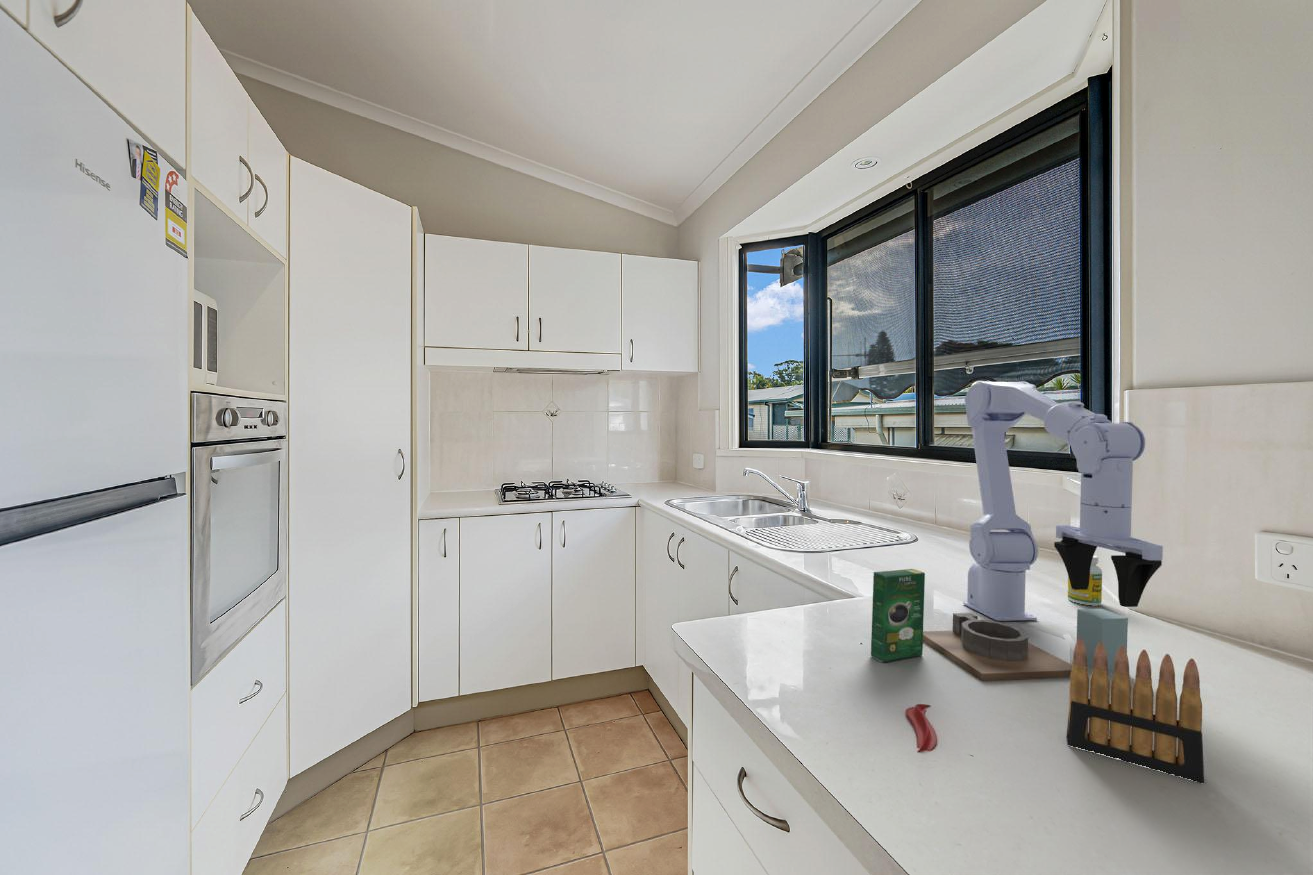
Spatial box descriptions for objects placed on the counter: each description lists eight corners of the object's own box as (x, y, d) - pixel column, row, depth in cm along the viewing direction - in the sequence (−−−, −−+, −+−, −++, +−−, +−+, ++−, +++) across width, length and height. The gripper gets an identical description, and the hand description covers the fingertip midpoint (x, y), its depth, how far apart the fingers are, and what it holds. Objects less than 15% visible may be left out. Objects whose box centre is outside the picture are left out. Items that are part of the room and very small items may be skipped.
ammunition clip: (1067, 746, 58) (1070, 638, 58) (1066, 738, 60) (1068, 633, 59) (1204, 784, 52) (1208, 664, 52) (1199, 774, 53) (1202, 657, 53)
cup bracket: (918, 637, 88) (918, 613, 88) (1002, 634, 89) (1002, 611, 89) (982, 680, 73) (983, 652, 73) (1081, 676, 74) (1082, 648, 74)
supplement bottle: (1073, 596, 110) (1074, 550, 110) (1105, 603, 106) (1106, 556, 105) (1063, 600, 107) (1064, 554, 107) (1095, 608, 103) (1096, 559, 102)
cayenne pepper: (914, 702, 68) (914, 688, 68) (954, 716, 65) (955, 700, 65) (883, 744, 59) (884, 727, 59) (928, 762, 56) (929, 744, 56)
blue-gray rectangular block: (1076, 661, 79) (1077, 609, 79) (1100, 660, 79) (1101, 608, 79) (1100, 674, 75) (1102, 618, 75) (1126, 673, 75) (1127, 618, 75)
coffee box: (910, 648, 83) (911, 566, 83) (925, 656, 81) (926, 571, 80) (869, 655, 81) (870, 571, 80) (883, 664, 78) (885, 576, 78)
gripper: (1039, 498, 84) (1037, 582, 84) (1130, 513, 69) (1127, 615, 69) (1079, 497, 84) (1077, 581, 85) (1178, 512, 70) (1175, 614, 70)
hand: (1102, 597), depth 77 cm, fingers open, 7 cm apart
